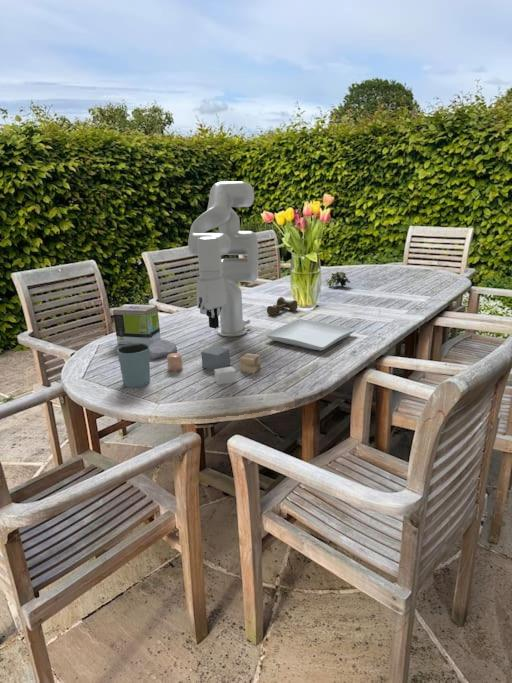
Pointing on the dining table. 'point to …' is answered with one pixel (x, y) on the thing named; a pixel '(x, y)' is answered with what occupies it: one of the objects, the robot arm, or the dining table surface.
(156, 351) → the stone block
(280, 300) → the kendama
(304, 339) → the square plate
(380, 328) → the dining table surface
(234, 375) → the pale grey block
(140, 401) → the dining table surface
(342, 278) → the miniature tree
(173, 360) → the terracotta cylinder
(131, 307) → the tea box
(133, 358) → the blue-grey cup
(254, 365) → the oak cube
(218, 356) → the slate block
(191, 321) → the dining table surface
